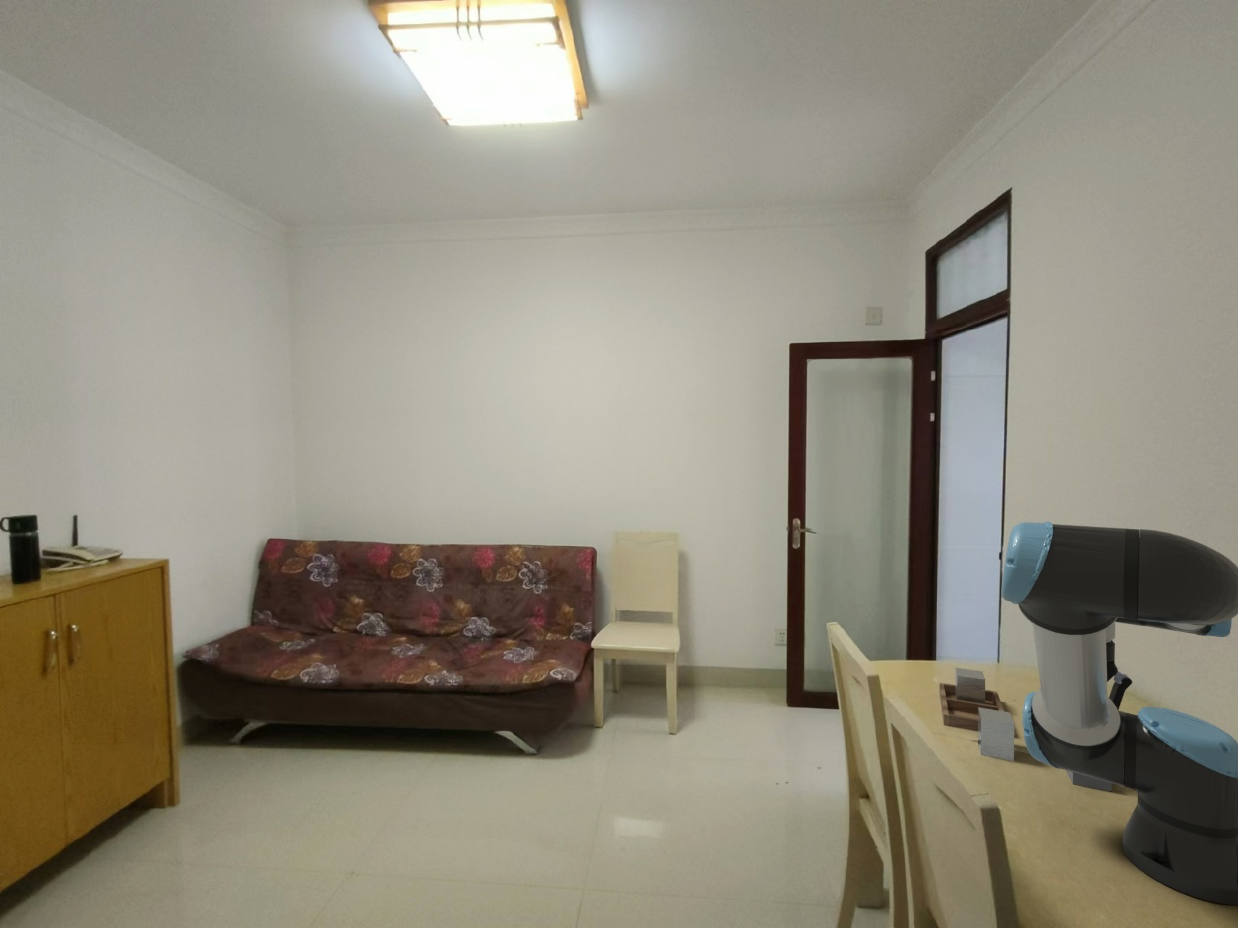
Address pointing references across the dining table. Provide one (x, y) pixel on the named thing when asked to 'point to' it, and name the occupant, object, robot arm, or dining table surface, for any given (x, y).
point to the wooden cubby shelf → (964, 708)
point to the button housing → (1089, 781)
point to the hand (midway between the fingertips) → (1087, 754)
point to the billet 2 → (996, 734)
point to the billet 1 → (969, 685)
